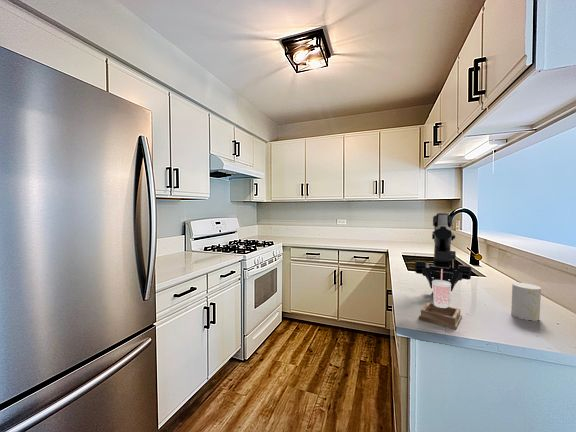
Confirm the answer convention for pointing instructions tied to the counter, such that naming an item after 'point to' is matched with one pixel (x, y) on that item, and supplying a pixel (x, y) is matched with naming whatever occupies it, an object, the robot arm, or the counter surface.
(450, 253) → the robot arm
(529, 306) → the grey upright cylinder
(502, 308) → the counter surface
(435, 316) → the tray
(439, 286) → the beverage cup
